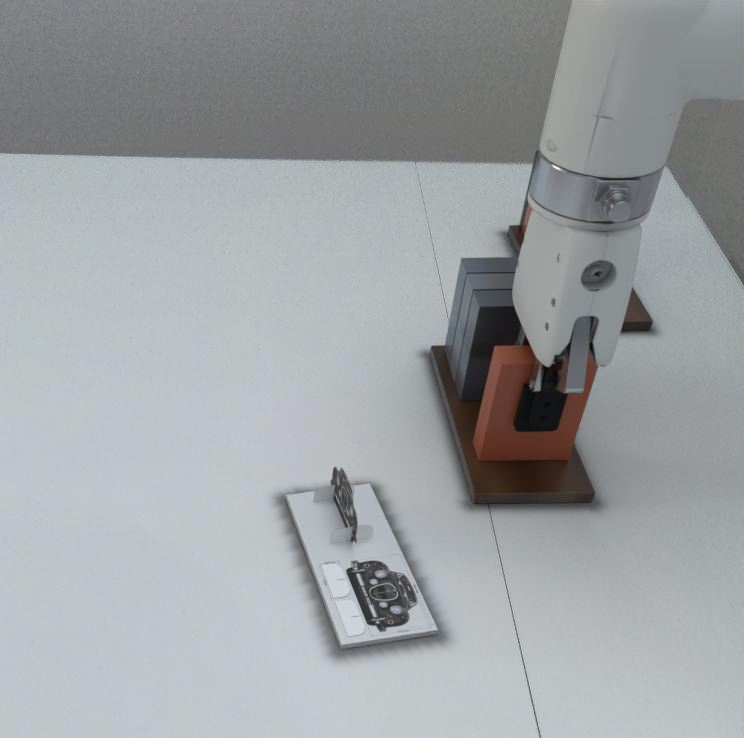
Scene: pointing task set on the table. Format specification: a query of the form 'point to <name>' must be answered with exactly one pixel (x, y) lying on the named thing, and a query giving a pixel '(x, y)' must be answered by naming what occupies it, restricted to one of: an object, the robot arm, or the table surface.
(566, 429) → the terracotta book
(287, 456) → the table surface
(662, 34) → the robot arm
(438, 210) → the table surface
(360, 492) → the car cutout
